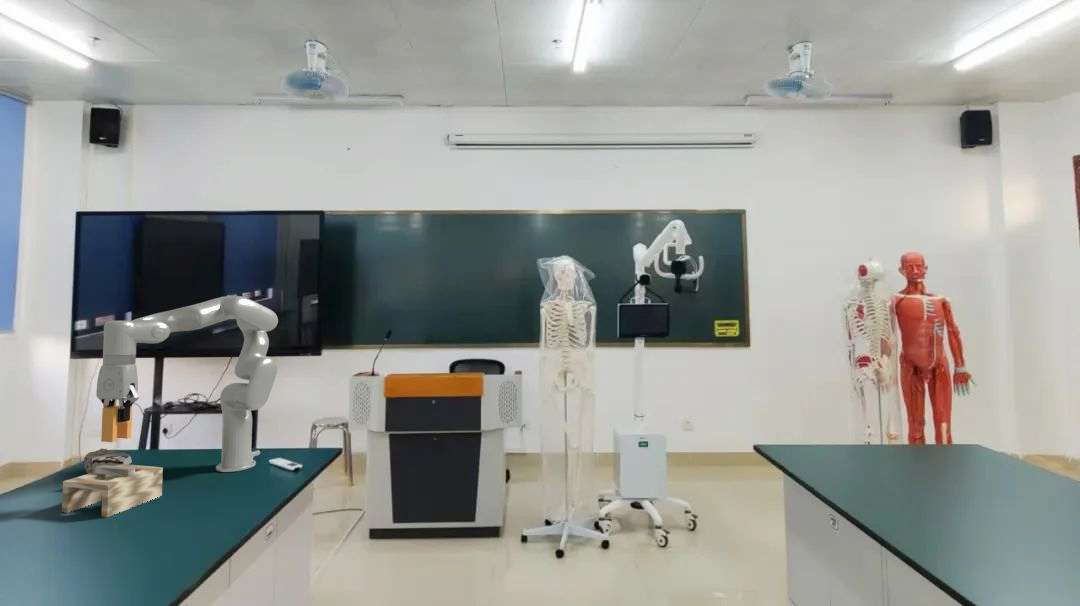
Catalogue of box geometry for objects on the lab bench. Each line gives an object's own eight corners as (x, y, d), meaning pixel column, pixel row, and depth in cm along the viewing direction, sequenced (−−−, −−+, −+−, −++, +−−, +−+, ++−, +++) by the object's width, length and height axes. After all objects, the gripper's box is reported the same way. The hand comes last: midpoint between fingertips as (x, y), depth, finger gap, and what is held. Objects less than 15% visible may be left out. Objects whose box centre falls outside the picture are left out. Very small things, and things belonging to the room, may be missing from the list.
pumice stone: (75, 473, 168) (76, 451, 168) (117, 464, 178) (118, 443, 179) (88, 481, 161) (89, 457, 161) (132, 471, 171) (133, 449, 171)
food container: (141, 483, 159) (142, 454, 159) (123, 490, 153) (124, 459, 153) (108, 482, 160) (109, 452, 161) (89, 488, 154) (90, 458, 154)
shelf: (120, 492, 151) (121, 457, 152) (161, 496, 149) (163, 461, 149) (61, 512, 136) (63, 474, 136) (107, 517, 133) (108, 478, 133)
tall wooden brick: (120, 436, 146) (121, 404, 146) (131, 437, 145) (132, 405, 145) (101, 441, 140) (102, 407, 141) (112, 442, 140) (113, 408, 140)
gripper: (83, 361, 141) (80, 422, 141) (129, 362, 138) (127, 425, 138) (110, 359, 148) (107, 417, 148) (154, 360, 146) (152, 419, 145)
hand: (117, 420), depth 143 cm, fingers closed on tall wooden brick, 4 cm apart
